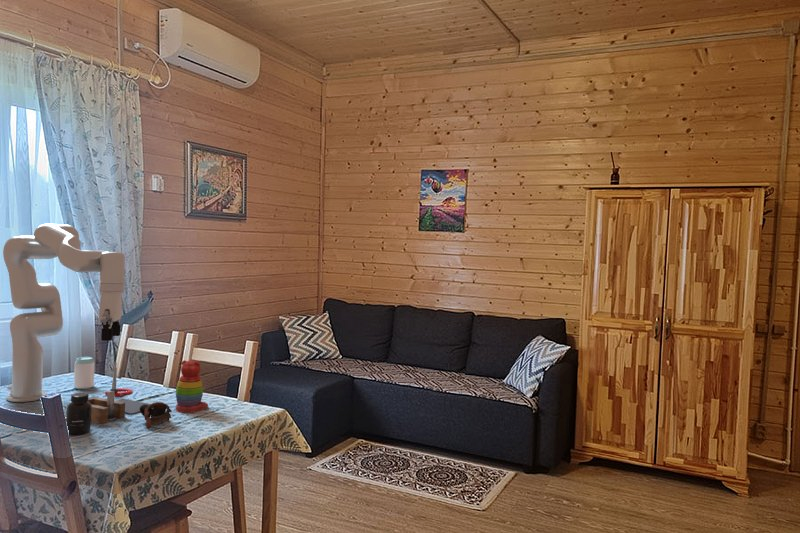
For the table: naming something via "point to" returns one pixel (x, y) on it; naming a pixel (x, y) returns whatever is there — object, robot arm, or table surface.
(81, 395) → the supplement bottle
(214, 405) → the table surface
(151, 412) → the pottery mug
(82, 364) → the can
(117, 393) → the tow hook
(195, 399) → the stacking bear
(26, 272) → the robot arm
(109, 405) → the post
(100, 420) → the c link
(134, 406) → the mat
